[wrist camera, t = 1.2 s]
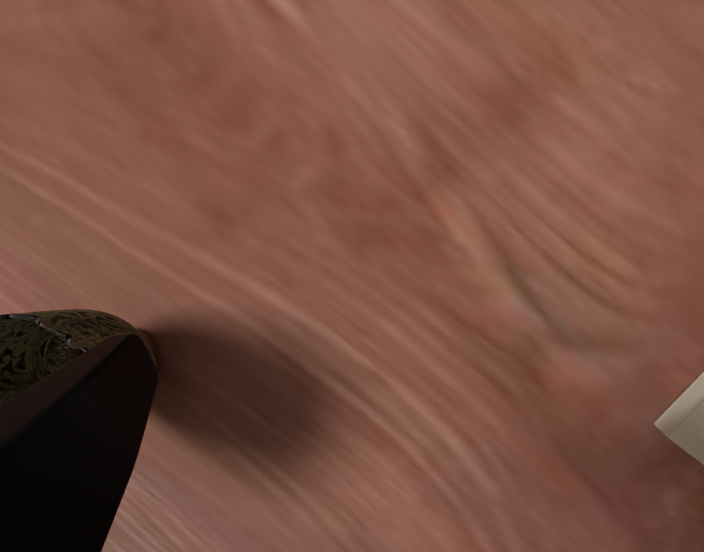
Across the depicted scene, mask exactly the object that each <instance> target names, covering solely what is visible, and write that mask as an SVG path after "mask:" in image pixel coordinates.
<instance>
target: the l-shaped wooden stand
mask: <svg viewBox="0 0 704 552" xmlns="http://www.w3.org/2000/svg"><path fill="white" fill-rule="evenodd" d="M654 425H656V426H657V427H658V428H659V429H660V430H661V431H662V432H663V433H664V434H665V435H666V436H667V437H668V438H669V439H670V440H672V441H673V442H674V443H676V444H677V445H678V446H680V447H681V448H682V449H684V450H685V451H686V452H687V453H689V454H690V455H691V456H693V457H694V458H695V459H697V460H698V461H699V462H700V463H702V464H703V465H704V372H703V373H702V374H701V375H700V376H699V377H698V378H697V379H696V380H695V381H694V382H693V383H692V384H691V385H690V386H689V387H688V388H687V389H686V390H685V391H684V393H683V394H682V395H681V396H680V397H679V398H678V399H677V400H676V401H675V402H674V403H673V404H672V405H671V406H670V407H669V408H668V409H667V410H666V411H665V412H664V413H663V414H662V415H661V416H660V417H659V418H658V420H657V421H656V422H655V423H654Z"/></svg>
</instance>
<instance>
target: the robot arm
mask: <svg viewBox="0 0 704 552" xmlns="http://www.w3.org/2000/svg"><path fill="white" fill-rule="evenodd" d="M157 385H158V370H157V367H156V365H155V363H154V361H153V359H152V357H151V355H150V353H149V351H148V349H147V347H146V345H145V343H144V341H143V339H142V338H141V337H140V336H139V335H138V334H135V333H126V334H115V335H112V336H110V337H108V338H106V339H105V340H103V341H102V342H100V343H99V344H97V345H95V346H94V347H92V348H91V349H89V350H87V351H86V352H84V353H83V354H81V355H80V356H78V357H76V358H75V359H73V360H72V361H70V362H68V363H67V364H65V365H64V366H62V367H61V368H59V369H57V370H56V371H54V372H53V373H51V374H49V375H48V376H46V377H45V378H43V379H42V380H40V381H38V382H37V383H35V384H34V385H32V386H31V387H29V388H27V389H26V390H24V391H23V392H21V393H19V394H18V395H16V396H15V397H13V398H12V399H10V400H8V401H7V402H5V403H4V404H2V405H0V552H101V551H102V548H103V545H104V543H105V540H106V538H107V535H108V533H109V530H110V528H111V525H112V523H113V520H114V517H115V515H116V512H117V510H118V507H119V505H120V502H121V500H122V497H123V494H124V492H125V489H126V487H127V484H128V482H129V479H130V476H131V474H132V471H133V468H134V465H135V462H136V459H137V456H138V453H139V449H140V446H141V442H142V439H143V435H144V431H145V428H146V424H147V421H148V417H149V413H150V410H151V406H152V403H153V399H154V395H155V392H156V388H157Z"/></svg>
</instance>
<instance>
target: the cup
mask: <svg viewBox="0 0 704 552" xmlns="http://www.w3.org/2000/svg"><path fill="white" fill-rule="evenodd" d="M126 333H135V334H138V335H139V336H140V337H141V338H142V339H143V341H144V343H145V345H146V347H147V349H148V351H149V353H150V355H151V357H152V359H153V361H154V363H155V365H156V367H157V370H158V373H159V370H160V355H159V351H158V349H157V346H156V345H155V343H154V342H153V340H152V339H151V338H150V337H149V336H148V335H147V334H145V333H144V332H142V331H140V330H138V329H135V328H134V327H133V326H132V325H130V324H129V323H128V322H126V321H124V320H123V319H121V318H119V317H116V316H114V315H111V314H108V313H105V312H100V311H94V310H82V309H71V310H54V311H42V312H30V313H19V314H15V313H12V314H5V315H0V405H2V404H4V403H5V402H7V401H8V400H10V399H12V398H13V397H15V396H16V395H18V394H19V393H21V392H23V391H24V390H26V389H27V388H29V387H31V386H32V385H34V384H35V383H37V382H38V381H40V380H42V379H43V378H45V377H46V376H48V375H49V374H51V373H53V372H54V371H56V370H57V369H59V368H61V367H62V366H64V365H65V364H67V363H68V362H70V361H72V360H73V359H75V358H76V357H78V356H80V355H81V354H83V353H84V352H86V351H87V350H89V349H91V348H92V347H94V346H95V345H97V344H99V343H100V342H102V341H103V340H105V339H106V338H108V337H110V336H112V335H115V334H126ZM156 391H157V388H156ZM155 395H156V392H155ZM155 395H154V398H155ZM153 401H154V399H153ZM152 404H153V403H152ZM151 407H152V406H151Z"/></svg>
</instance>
